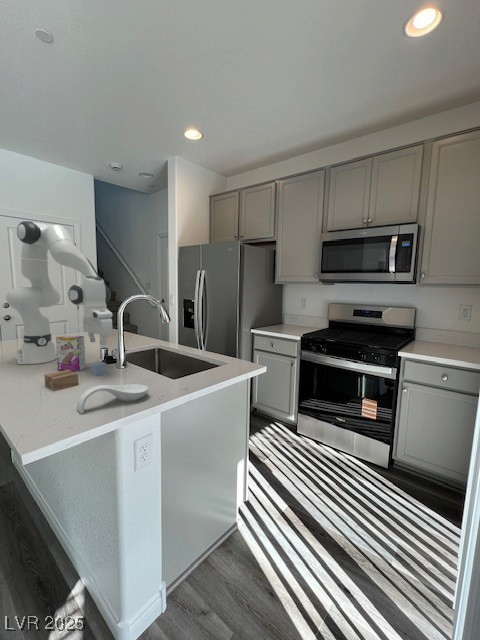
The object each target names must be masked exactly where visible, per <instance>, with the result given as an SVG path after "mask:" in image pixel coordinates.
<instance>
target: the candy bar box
mask: <svg viewBox="0 0 480 640" xmlns="http://www.w3.org/2000/svg"><path fill="white" fill-rule="evenodd" d="M55 340H56V341H55V342H56V343H55V344H56V355H57V359H56V360H57V371H64V370H70V371H73V372H82V371H84V370H86V368H87V367H86V352H85V351H86V349H85V348H86V347H85V336H84V335H72V334H70V335H68V334H67V335H65V334H62V335H57V336H55Z"/></svg>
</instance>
